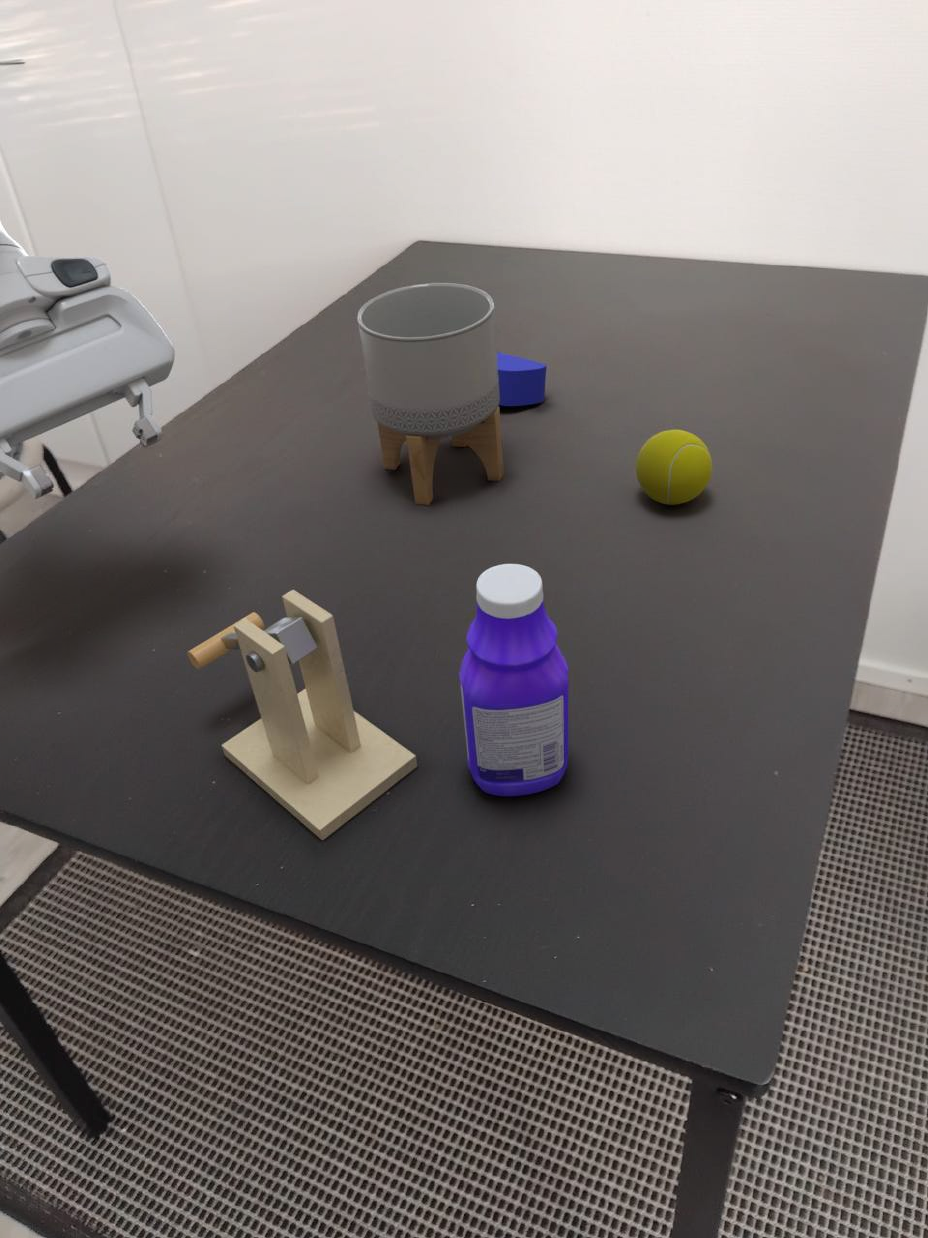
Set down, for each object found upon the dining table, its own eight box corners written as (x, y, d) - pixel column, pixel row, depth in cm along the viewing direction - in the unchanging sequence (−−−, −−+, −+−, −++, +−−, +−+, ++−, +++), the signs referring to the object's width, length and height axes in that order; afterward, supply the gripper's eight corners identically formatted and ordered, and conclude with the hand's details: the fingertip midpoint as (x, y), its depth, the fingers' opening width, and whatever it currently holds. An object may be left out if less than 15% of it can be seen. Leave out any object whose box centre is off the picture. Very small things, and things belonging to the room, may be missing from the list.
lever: (197, 674, 74) (181, 646, 73) (261, 634, 77) (247, 607, 76) (269, 680, 63) (251, 648, 63) (340, 633, 66) (324, 602, 66)
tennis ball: (723, 502, 95) (729, 438, 91) (665, 526, 93) (669, 462, 88) (677, 471, 100) (681, 409, 95) (621, 493, 98) (622, 431, 93)
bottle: (561, 735, 73) (556, 546, 62) (576, 794, 69) (575, 602, 58) (464, 749, 73) (443, 562, 62) (474, 809, 68) (453, 618, 57)
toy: (450, 390, 121) (435, 415, 113) (452, 345, 118) (436, 367, 110) (547, 399, 119) (538, 424, 111) (551, 353, 116) (542, 376, 108)
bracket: (224, 755, 74) (176, 616, 66) (317, 692, 79) (283, 554, 70) (322, 841, 67) (282, 698, 59) (417, 766, 72) (394, 623, 63)
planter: (482, 511, 97) (468, 342, 86) (363, 497, 101) (334, 333, 90) (518, 446, 106) (510, 285, 95) (408, 435, 110) (387, 279, 99)
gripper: (-145, 342, 67) (-29, 512, 67) (119, 250, 77) (219, 397, 78) (-137, 384, 72) (-29, 541, 73) (109, 293, 83) (202, 430, 83)
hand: (101, 466), depth 75 cm, fingers open, 8 cm apart
